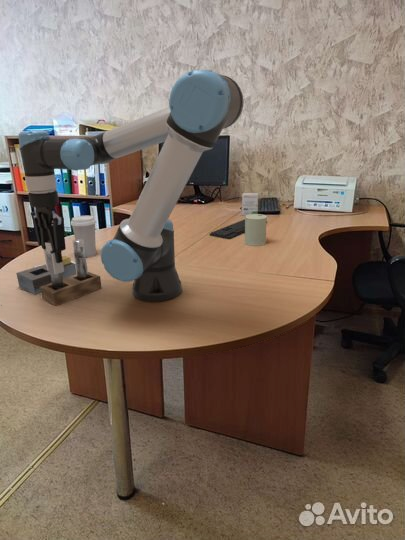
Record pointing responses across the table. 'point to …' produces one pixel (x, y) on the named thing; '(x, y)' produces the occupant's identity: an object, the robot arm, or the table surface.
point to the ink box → (249, 203)
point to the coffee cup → (85, 233)
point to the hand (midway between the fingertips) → (55, 270)
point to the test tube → (80, 259)
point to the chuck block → (40, 277)
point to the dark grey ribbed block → (230, 230)
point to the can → (255, 229)
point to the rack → (70, 289)
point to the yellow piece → (66, 260)
